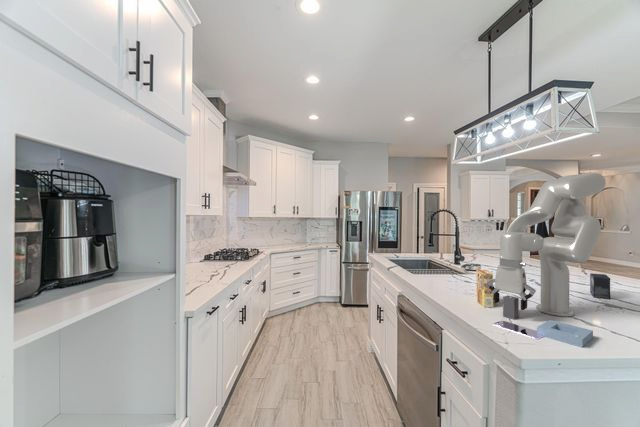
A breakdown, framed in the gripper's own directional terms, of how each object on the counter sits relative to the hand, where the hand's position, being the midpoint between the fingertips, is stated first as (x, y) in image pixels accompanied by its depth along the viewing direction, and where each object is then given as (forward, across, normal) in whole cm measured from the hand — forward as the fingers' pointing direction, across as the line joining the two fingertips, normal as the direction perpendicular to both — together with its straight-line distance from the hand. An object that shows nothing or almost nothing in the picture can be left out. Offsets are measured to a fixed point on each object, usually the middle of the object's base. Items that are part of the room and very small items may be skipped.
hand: (509, 306), depth 117 cm
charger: (+4, 0, -1) cm, 5 cm away
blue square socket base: (+4, -19, +4) cm, 20 cm away
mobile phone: (+5, -7, +11) cm, 14 cm away
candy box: (+5, +14, -9) cm, 17 cm away
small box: (+3, -13, -70) cm, 71 cm away
